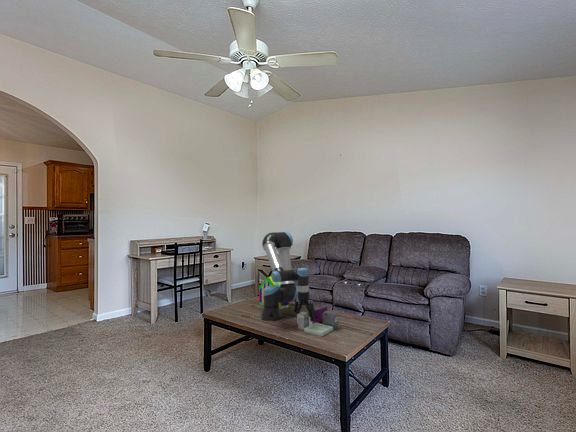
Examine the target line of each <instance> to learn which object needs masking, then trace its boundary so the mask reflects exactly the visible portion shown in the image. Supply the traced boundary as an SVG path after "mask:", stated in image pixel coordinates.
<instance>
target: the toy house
mask: <svg viewBox="0 0 576 432" xmlns="http://www.w3.org/2000/svg"><path fill="white" fill-rule="evenodd" d="M281 283H282V282H273V281H272V277H271V276H268V277H266V279H264V281H263V282H262V283H261V285H259V287H258V304H259V305H261V306H263V307H264V298H263V292H264V288H265V287H267V286H271V285H278V286H279V287H280V284H281ZM290 303H291V302H283V303H279V308H280V310H282V309H286V308H287V309H288V308H289V307H291V306H290V305H291V304H290Z"/></svg>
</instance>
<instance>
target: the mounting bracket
mask: <svg viewBox="0 0 576 432" xmlns="http://www.w3.org/2000/svg"><path fill="white" fill-rule="evenodd" d="M325 311H329V309H328V307H327V306H326V307H322V308H319V309H316V310H315V314H316V315H314V316H313V322H314V323H319V324H320V323H322V322H323V312H325ZM307 313H308V312H307ZM308 314H309V313H308ZM309 316H310V315H309Z"/></svg>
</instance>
